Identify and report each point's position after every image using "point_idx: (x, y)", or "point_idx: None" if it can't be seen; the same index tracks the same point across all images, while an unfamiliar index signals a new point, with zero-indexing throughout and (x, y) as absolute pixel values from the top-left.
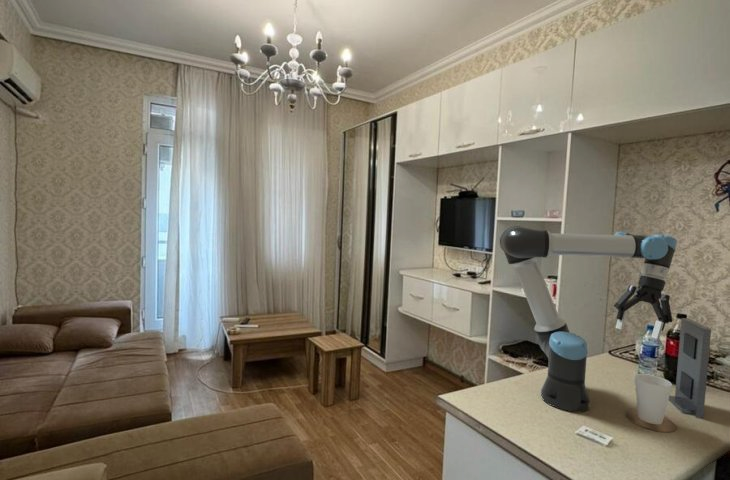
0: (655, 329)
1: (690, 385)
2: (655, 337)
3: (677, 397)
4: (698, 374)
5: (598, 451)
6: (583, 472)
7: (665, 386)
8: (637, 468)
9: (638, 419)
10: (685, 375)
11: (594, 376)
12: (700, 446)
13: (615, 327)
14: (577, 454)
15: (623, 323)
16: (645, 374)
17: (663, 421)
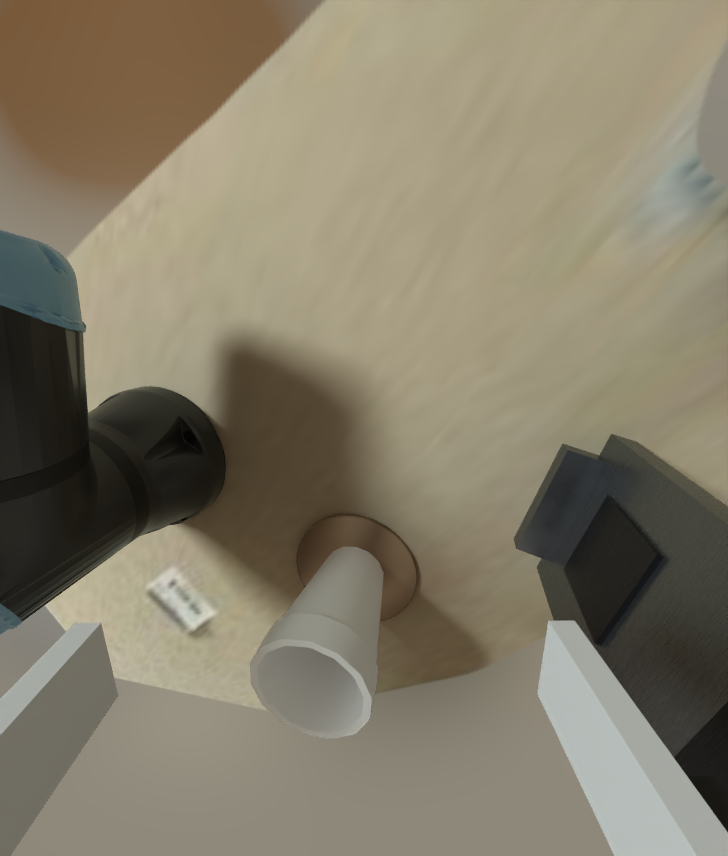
0: (619, 775)
1: (586, 608)
2: (549, 686)
3: (595, 469)
4: None
5: (168, 644)
6: (126, 678)
7: (316, 736)
8: (213, 689)
9: (318, 569)
10: (625, 591)
11: (378, 206)
12: (398, 670)
13: (73, 626)
14: (130, 644)
15: (42, 791)
16: (314, 647)
17: (386, 586)
